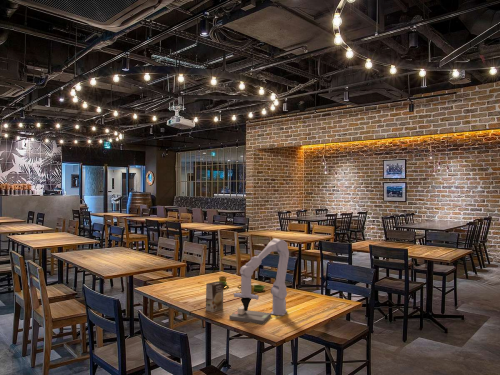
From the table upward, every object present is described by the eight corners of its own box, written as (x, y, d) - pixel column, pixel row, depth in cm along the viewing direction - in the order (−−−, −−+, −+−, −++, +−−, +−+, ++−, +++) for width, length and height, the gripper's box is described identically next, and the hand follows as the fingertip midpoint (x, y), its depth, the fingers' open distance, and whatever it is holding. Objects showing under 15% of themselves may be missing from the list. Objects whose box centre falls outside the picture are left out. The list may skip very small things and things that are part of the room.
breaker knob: (237, 314, 222) (237, 308, 222) (241, 311, 228) (241, 305, 228) (242, 314, 221) (242, 309, 221) (246, 311, 227) (246, 306, 227)
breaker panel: (229, 319, 220) (229, 315, 220) (239, 312, 233) (239, 308, 233) (262, 324, 212) (262, 320, 212) (271, 316, 225) (271, 313, 226)
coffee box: (212, 312, 232) (213, 285, 232) (205, 310, 236) (205, 283, 236) (223, 308, 239) (223, 282, 240) (216, 306, 243) (216, 281, 244)
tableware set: (204, 287, 296) (204, 278, 296) (231, 281, 315) (231, 273, 315) (241, 298, 267) (241, 288, 267) (268, 290, 286) (269, 282, 286)
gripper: (231, 287, 223) (231, 311, 223) (255, 289, 218) (255, 314, 217) (236, 284, 229) (236, 307, 229) (259, 286, 224) (259, 310, 224)
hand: (246, 310), depth 224 cm, fingers closed
